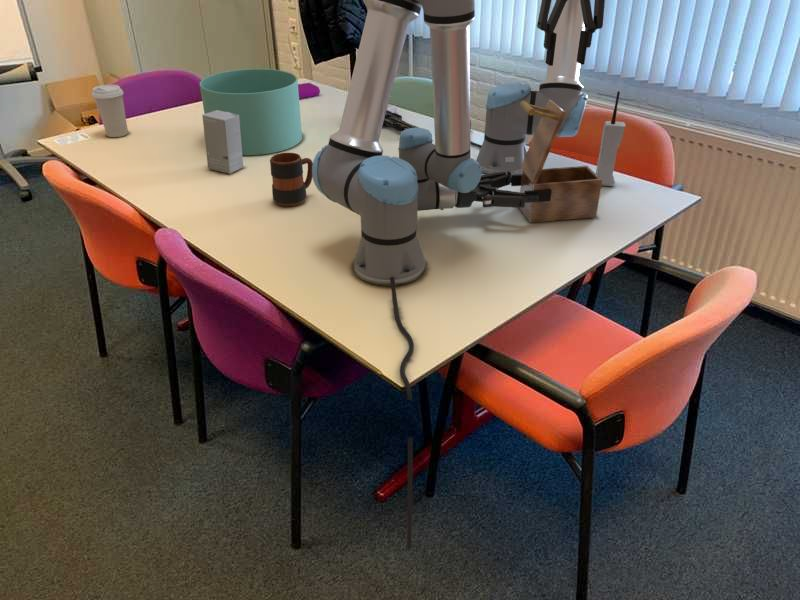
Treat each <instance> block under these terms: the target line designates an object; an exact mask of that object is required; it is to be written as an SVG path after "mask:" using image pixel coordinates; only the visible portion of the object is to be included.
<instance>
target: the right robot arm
mask: <svg viewBox="0 0 800 600" xmlns="http://www.w3.org/2000/svg"><path fill="white" fill-rule="evenodd" d="M605 2H606V0H594V1H593V3H594V4H593V11H592V4H591V0H555V2H554V5H553V7H552V10H551V11H550V9H551V5H552V0H541V2H540V7H539V13H538V17H537V18H538V19H537V22H536V23H537V24H536V28H537V29H538V30H540V31H543V32H544V38H543V48H544V49H545V50H546V54H545V64H547V69H546V75H545V79H544V80H543V81H541V82H540V83H539V86H538V87H539V89H538V90H532V86H531V85H530V84H528V83H524V82H510V83H509V82H508V83H504V84H499V85H496V86H494V87H492V88H491V89H490V90H489V91H488V93H487V99H486V104H485V108H486V109H485V123H484V136H483V142H482V144H479V143H475V142H473V141H472V140H470V146H473V147H477V148H479V152H478V154H477V156H476V159H475V160H476V161H477V162H478V163H479V164H480V167H481V169H482V174H484V175H486V174H492V173H498V172H507V171H511V176H512V175H521V174H522V171H523V170H522V169H521V166H522V164H523V161H524V159H525V156H526V154H527V151H528V149H527V146H526V136H527V135H529V136H530V135H531V136H534V134H535V132H536V129H537V127H538V124H539V122H540V120H541V117H542V116H538V115H535V114H534V115H529V114H528V113H527V112H526V111H525V110H524V109H523V108H522V107H521V106H520V102H521V101H525V102H526V103H528V104H530V105H534V106H538V107H541V108H545V107H546V105H547V102H548V100H552V101H553V102H554V103H556V104H557V105H558V106H559V107H560V108H562V109H563V110H564V111H565V112H566V114H565V117H564V119H563V121H562V124H561V126H560V128H559V131H558V133H557V135H556V138H573V137H575V136H576V135H577V134H578V133H579V130H580V127H581V123H582V120H583V116H584V114H585V108H586V105H587V100H588V94H587V93H585V92H583V90H584V85H583V84H582V83H581V82H580V80H579V77H580V69H581V66H582V65H585V62H586V55H587V49H588V48H589V49H590V48H591V46H592V40H593V34H594V33H595V32H596V30H601V29H602V28H603V27H604V16H605ZM534 110H535V109H534ZM535 111H538V112H541V113H543V112H542V111H539V110H535ZM471 130H472V121H471V119H470V131H471ZM506 174H507V173H506Z"/></svg>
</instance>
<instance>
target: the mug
mask: <svg viewBox="0 0 800 600" xmlns="http://www.w3.org/2000/svg"><path fill="white" fill-rule="evenodd" d="M306 164H307V172H306V178H305V181H304V175H303V174H304V168H303V165H306ZM269 165H270V175H271V179H272V184H271V192H272V194H271V195H272V200H273V201H274V202H275V204H277V205H278V206H281V207H294V206H299V205H301V204H303V203H304V202H305V200H306V199H307V189H308V188H309V187H310V185H311V183H312V181H313V177H312V165H313V160H312V159H311V158H309V157H304V158H302V157H301V155H300V154H298V153H295V152H281V153H280V152H279V153H276V154H274V155H272V156H271V157H270V160H269Z"/></svg>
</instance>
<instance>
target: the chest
mask: <svg viewBox="0 0 800 600" xmlns="http://www.w3.org/2000/svg"><path fill="white" fill-rule="evenodd" d="M601 184H602V179H601V178H600V177H599V176H598V175H597V174H596V172H594V171H593V169H591V168H590V166H589V165H579V166H577V165H576V166H565V167H564V166H563V167H552V168H542V171H541V173H540V175H539V178H538V180H537V182H536V183H533V182H532V181H531V180H530V179H529V178H528V176H527V175H526V174H525V173H524V171H522V178H521V186H520V190H519V192H521V193H524V191H531V190H548V189H551V190H552V193H551V200H550V201H543V202H528V203H525V207H524V208H519V210H520V211H521V212H522V213H523V215H524V216H525V218H526V219H527V221H528V222H529V223H532V224H533V223H541V222H542V223H543V222H553V221H555V222H557V221H567V220H578V219H589V218H596V217H597V214H598V208H599V201H600V196H601V189H602V185H601Z"/></svg>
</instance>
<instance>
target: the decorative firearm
mask: <svg viewBox="0 0 800 600" xmlns="http://www.w3.org/2000/svg"><path fill="white" fill-rule="evenodd" d="M397 110H398V107H397V105H393V104H389V103H388V106H387V110H386V114H385V118H384V122H383V125H382V127H384V126H389V127H391V128H393V129H395V130H397V131H399V132H400V133H401V132H402V131H404V130H406V129H409V128H420V126H416V125H413V124H411V123H409V122H406V121H405V120H403V115H401V114H399V113H397Z"/></svg>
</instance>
